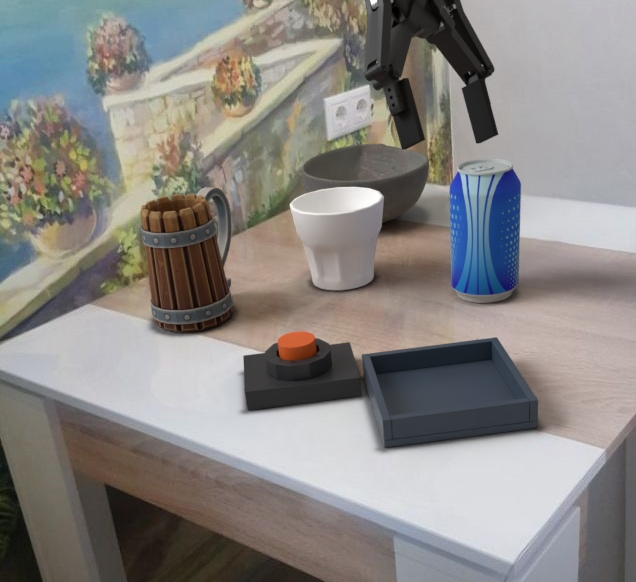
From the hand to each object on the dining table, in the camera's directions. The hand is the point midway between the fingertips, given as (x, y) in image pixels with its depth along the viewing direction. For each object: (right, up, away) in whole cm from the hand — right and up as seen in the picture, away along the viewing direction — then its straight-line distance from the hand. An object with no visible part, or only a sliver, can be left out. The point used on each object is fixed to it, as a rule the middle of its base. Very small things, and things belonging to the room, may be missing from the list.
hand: (452, 142), depth 98 cm
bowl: (-7, +3, +46) cm, 46 cm away
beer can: (+6, -14, +15) cm, 22 cm away
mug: (-30, -16, +19) cm, 39 cm away
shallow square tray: (-2, -29, -9) cm, 31 cm away
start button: (-17, -24, -4) cm, 30 cm away
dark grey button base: (-17, -27, -2) cm, 32 cm away
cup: (-11, -11, +24) cm, 29 cm away
